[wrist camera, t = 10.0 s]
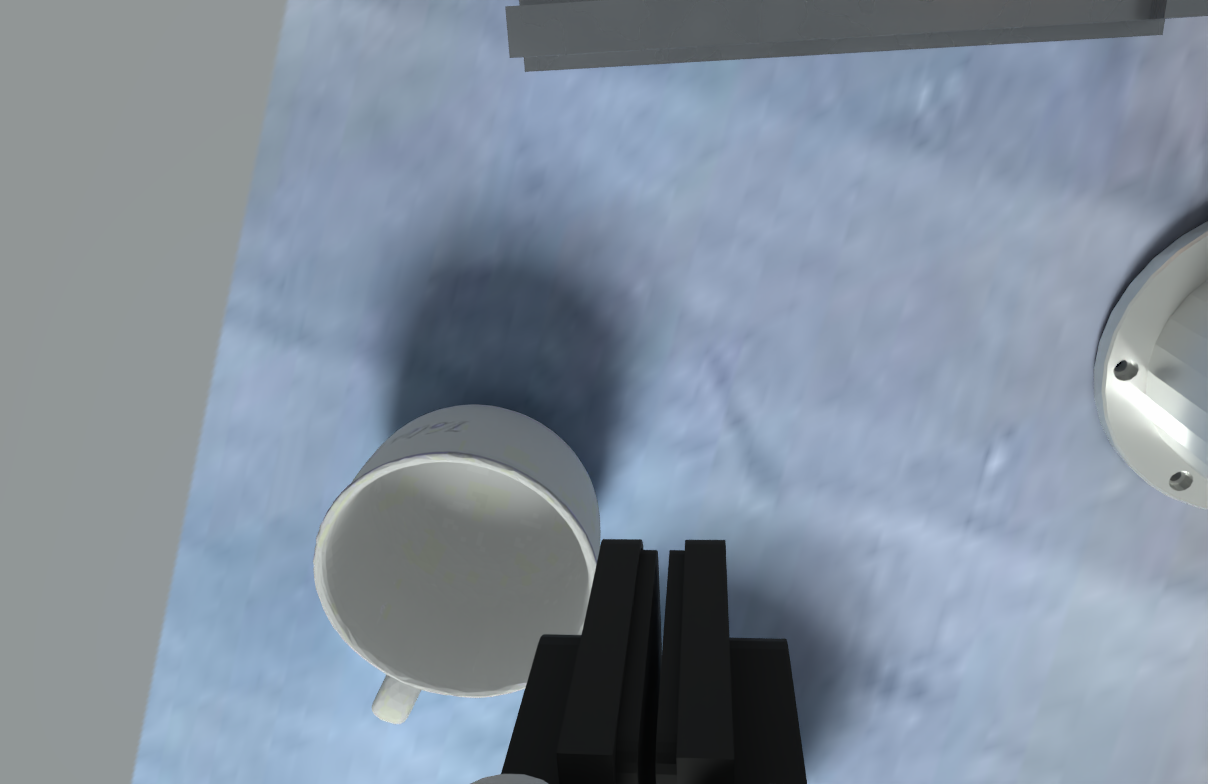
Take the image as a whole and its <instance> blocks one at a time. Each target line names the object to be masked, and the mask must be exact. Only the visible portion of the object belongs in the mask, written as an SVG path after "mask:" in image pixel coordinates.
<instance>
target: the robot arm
mask: <svg viewBox="0 0 1208 784" xmlns="http://www.w3.org/2000/svg"><path fill="white" fill-rule="evenodd" d="M1120 361H1122V364H1121V365H1120V366H1119V367H1116V365H1117V364H1118V363H1119V362H1120ZM1115 367H1116V368H1115ZM1094 399H1095V403H1096V408H1097V412H1098V416H1099V420H1100V424H1101V426H1102V428H1103V430H1104V432H1105V434H1106V436H1107V437H1108V439H1109V441H1110V443H1111V445H1112V447H1113V448H1114V449H1115V451H1116V452H1117V453H1118V454H1119V455H1120V457H1121V458H1122V459H1123V460H1124V461H1125V462H1126V464H1127V465H1128V466H1129V467H1130V468H1131V469H1132V470H1133V471H1135V472H1136V473H1137V474H1138V475H1139V476H1140V477H1141V478H1142V479H1143V480H1145V481H1146V482H1147V483H1148V484H1149V485H1150V486H1152V487H1154V488H1155V489H1157V490H1158V491H1160V492H1162V493H1163V494H1165V495H1166V496H1168V497H1170V498H1172V499H1175V500H1178V501H1181V502H1183V503H1186V504H1189V505H1192V506H1195V507H1197V508H1200V509H1206V510H1208V221H1207V222H1205V223H1203V224H1202V225H1200V226H1198V227H1196V228H1195V229H1193V230H1191V231H1189V232H1188V233H1186V234H1184V235H1182V236H1181V237H1180V238H1178V239H1177V240H1176V241H1175V242H1173V243H1172V244H1171V245H1170V246H1168V247H1167V248H1166V249H1165V250H1163V251H1162V252H1161V253H1160V254H1158V255H1157V256H1156V257H1155V258H1153V259H1152V260H1151V262H1150V263H1149V264H1148V265H1147V266H1146V267H1145V268H1144V269H1143V270H1142V271H1141V273H1140V274H1139V275H1138V276H1137V277H1136V278H1135V279H1134V280H1133V281H1132V282H1131V283H1130V285H1129V286H1128V288H1127V289H1126V291H1125V292H1124V294H1123V295H1122V297H1121V299H1120V300H1119V302H1118V303H1117V305H1116V306H1115V308H1114V309H1113V311H1112V313H1111V315H1110V317H1109V320H1108V322H1107V325H1106V327H1105V329H1104V332H1103V334H1102V337H1101V339H1100V342H1099V347H1098V351H1097V356H1096V361H1095V366H1094ZM471 784H807V780H806V773H805V766H804V758H803V751H802V744H801V737H800V730H799V722H798V715H797V708H796V701H795V693H794V686H793V679H792V672H791V664H790V657H789V650H788V644H787V641H786V639H763V638H729V619H728V594H727V569H726V545H725V540H685V551H684V550H670V553H669V567H668V581H667V595H666V608H665V622H664V636H663V650H662V642H661V616H660V590H659V565H658V551H657V550H643V542H642V540H627V539H603V540H602V542H601V546H600V550H599V555H598V560H597V564H596V569H595V574H594V579H593V583H592V588H591V593H590V597H589V602H588V607H587V611H586V616H585V621H584V626H583V630H582V635H559V634H543V635H542V636H541V637H540V640H539V642H538V645H537V649H536V652H535V656H534V660H533V663H532V667H531V670H530V674H529V677H528V681H527V684H526V688H525V691H524V695H523V698H522V702H521V705H520V709H519V713H518V716H517V720H516V723H515V727H514V730H513V734H512V737H511V741H510V744H509V748H508V751H507V755H506V759H505V762H504V766H503V769H502V773H501V774H500V775H495V776H490V777H486V778H482V779H480V780H478V781H475V782H473V783H471Z"/></svg>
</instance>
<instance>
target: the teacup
mask: <svg viewBox="0 0 1208 784" xmlns="http://www.w3.org/2000/svg"><path fill="white" fill-rule="evenodd" d="M599 550H600V515H599V508H598V502H597V498H596V494H595V491H594V487H593V485H592V482H591V480H590V477H589V475H588V473H587V471H586V469H585V468H584V466H583V464H582V463H581V461H580V460H579V458H578V457H577V455H576V454H575V453H574V451H573V450H572V449H571V448H570V447H569V446H568V445H567V444H566V443H565V442H564V441H563V440H562V439H561V438H560V437H559V436H558V435H557V434H556V433H554V432H553V431H552V430H550V429H549V428H547V427H546V426H544V425H543V424H541V423H540V422H538V421H536V420H534V419H532V418H530V417H528V416H526V415H524V414H521V413H519V412H516V411H512V410H509V409H505V408H501V407H496V406H491V405H478V404H471V405H457V406H452V407H447V408H442V409H439V410H436V411H433V412H430V413H428V414H425V415H422V416H420V417H418V418H416V419H414V420H413V421H411V422H409V423H408V424H406V425H405V426H403V427H402V428H400V429H399V430H397V431H396V432H395V433H394V434H393V435H391V436H390V437H389V438H388V439H387V440H386V441H385V442H384V443H383V444H382V445H381V446H380V447H379V448H378V449H377V450H376V452H375V453H374V454H373V455H372V456H371V457H370V459H369V460H368V461H367V462H366V464H365V465H364V466H363V467H362V469H361V470H360V471H359V473H358V474H357V476H356V477H355V478H354V480H353V481H352V483H351V484H350V485H348V486H347V487H346V488H345V489H344V490H343V491H342V492H341V494H340V495H339V496H338V497H337V498H336V499H335V501H334V502H333V504H332V506H331V507H330V508H329V510H328V511H327V513H326V515H325V517H324V520H323V522H322V523H321V525H320V529H319V532H318V535H317V538H316V547H315V553H314V559H313V563H314V579H315V585H316V590H317V593H318V595H319V598H320V601H321V603H322V606H323V609H324V611H325V613H326V615H327V617H328V619H329V620H330V622H331V624H332V626H333V627H334V629H335V630H337V632H338V633H339V635H340V636H341V638H342V639H343V640H344V641H345V642H346V643H347V644H348V645H349V646H350V647H351V648H352V649H353V650H354V651H355V652H356V653H357V654H358V655H360V656H361V657H362V658H363V659H365V660H366V661H368V662H369V663H370V664H372V665H373V666H374V667H376V668H378V669H379V670H381V671H382V672H384V673H385V674H386V677H385V679H384V681H383V683H382V685H381V687H380V689H379V691H378V693H377V695H376V697H375V700H374V702H373V705H372V712H373V713H374V714H375V715H376V716H377V717H378V718H380V719H381V720H384V721H387V722H390V723H393V724H401V723H403V722H405V720H406V719H407V718H408V716H409V714H410V712H411V710H412V708H413V706H414V704H415V702H416V700H417V698H418V696H419V694H420V691H421V690H424V691H428V692H432V693H437V694H442V695H453V696H457V697H470V698H482V697H493V696H498V695H504V694H509V693H513V692H516V691H519V690H522V689H525V688H526V684H527V681H528V677H529V674H530V670H531V667H532V663H533V660H534V656H535V652H536V649H537V645H538V642H539V640H540V637H541V636H542V635H543V634H559V635H582V630H583V626H584V621H585V616H586V611H587V607H588V602H589V597H590V593H591V588H592V583H593V579H594V574H595V569H596V564H597V560H598V555H599Z"/></svg>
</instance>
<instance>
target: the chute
mask: <svg viewBox="0 0 1208 784" xmlns="http://www.w3.org/2000/svg"><path fill="white" fill-rule="evenodd" d="M519 4H520V6H507V7H505V8H506V19H507V30H508V42H509V53H510V58H517V57H524V65H525V72H529V71H546V70H563V69H580V68H598V67H615V66H632V65H649V64H666V63H684V62H701V61H718V60H735V59H753V58H770V57H787V56H804V55H822V54H839V53H856V52H873V51H891V50H908V49H925V48H942V47H960V46H977V45H994V44H1011V43H1029V42H1046V41H1063V40H1080V39H1098V38H1115V37H1132V36H1149V35H1163V28H1164V22H1165V19H1169V18H1183V17H1198V16H1208V0H519Z"/></svg>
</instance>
